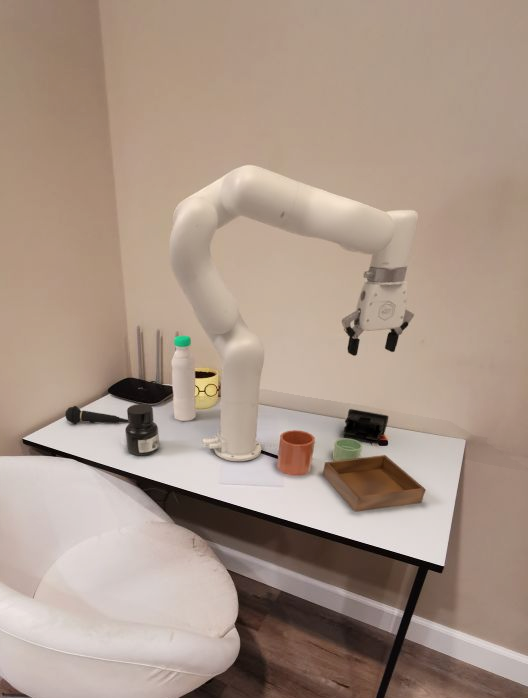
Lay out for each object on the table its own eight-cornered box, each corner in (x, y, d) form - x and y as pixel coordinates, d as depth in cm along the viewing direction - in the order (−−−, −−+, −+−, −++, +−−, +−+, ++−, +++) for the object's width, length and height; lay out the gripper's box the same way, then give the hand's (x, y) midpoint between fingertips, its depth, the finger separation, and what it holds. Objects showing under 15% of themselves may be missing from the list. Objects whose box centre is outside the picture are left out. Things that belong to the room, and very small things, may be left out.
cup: (284, 478, 104) (287, 447, 99) (272, 462, 111) (275, 432, 106) (315, 474, 105) (320, 443, 100) (302, 458, 111) (306, 428, 107)
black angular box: (384, 434, 120) (390, 412, 117) (379, 445, 115) (384, 422, 112) (347, 427, 125) (351, 405, 121) (340, 437, 120) (344, 414, 117)
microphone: (129, 428, 138) (67, 422, 139) (130, 410, 137) (68, 404, 137) (126, 431, 133) (62, 424, 134) (128, 412, 132) (63, 405, 132)
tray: (354, 512, 91) (358, 498, 89) (322, 475, 104) (325, 462, 102) (421, 503, 93) (426, 489, 91) (381, 468, 106) (385, 454, 104)
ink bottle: (146, 460, 115) (142, 418, 108) (120, 452, 119) (115, 412, 112) (166, 444, 122) (163, 405, 115) (140, 438, 126) (137, 399, 119)
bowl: (339, 467, 107) (342, 451, 104) (327, 455, 112) (330, 439, 110) (363, 464, 107) (367, 448, 105) (351, 452, 113) (354, 437, 110)
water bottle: (172, 413, 140) (169, 334, 126) (194, 411, 140) (193, 332, 126) (174, 422, 134) (171, 340, 120) (197, 420, 134) (196, 339, 120)
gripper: (358, 280, 92) (344, 360, 101) (433, 274, 94) (413, 353, 103) (341, 276, 98) (330, 351, 107) (412, 270, 100) (395, 345, 109)
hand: (370, 352), depth 105 cm, fingers open, 9 cm apart
